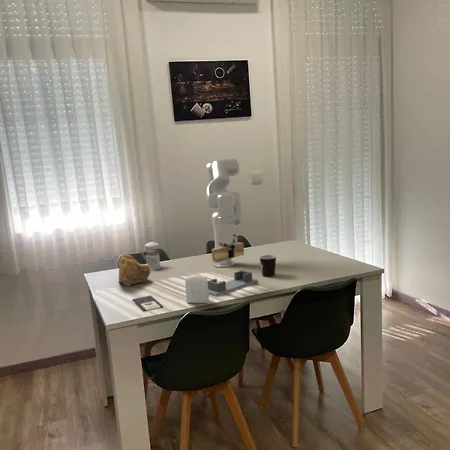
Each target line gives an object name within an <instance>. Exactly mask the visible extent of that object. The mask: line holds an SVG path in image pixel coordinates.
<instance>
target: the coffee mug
mask: <svg viewBox="0 0 450 450" xmlns="http://www.w3.org/2000/svg"><path fill="white" fill-rule="evenodd" d="M259 260H260V261H259V263H260V267H261V268H260V270H261V273H262V277H263V278H264V277H265V278H273V277H275V276H276V264H277V263H276V261H277V256H276V255H273V254H264V255H260V256H259Z"/></svg>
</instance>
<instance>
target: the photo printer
mask: <svg viewBox="0 0 450 450" xmlns="http://www.w3.org/2000/svg"><path fill="white" fill-rule="evenodd" d="M208 281H209V280H208V277H206V276H204V275H196V274H194V275H189V276H187V277H186V278H185V281H184V282H185V283H184V284H185V295H186V296H185V297H186V299H185V300H186V303H187V304H208V303H209V301H210V298H209V294H208Z"/></svg>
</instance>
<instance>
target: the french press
mask: <svg viewBox="0 0 450 450" xmlns="http://www.w3.org/2000/svg"><path fill="white" fill-rule="evenodd" d="M152 228H153V227H152V226H151V225H149V226H148V229H149V230H150V231H149V232H150V234H152V233H151V229H152ZM158 246H159V243H158V242H154V241H152V239H150V242H147V243H146V244H144V247H143V248H142V249H141V251H142V254H141V256H142V258H143V259H144V260H146V265H147V266H148V267H149V268H150V271H151V270H158V269H161V268H162V267H163V266H162V265H161V261H160V260H161V259H160V253H159V250H158V249H151V250H147V248H153V247H154V248H155V247H158ZM145 250H147V251H146V254H145V253H144V251H145Z"/></svg>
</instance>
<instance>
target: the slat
mask: <svg viewBox="0 0 450 450" xmlns="http://www.w3.org/2000/svg"><path fill="white" fill-rule="evenodd" d="M237 242H238V245H237V246H236V247H235V249H234V257H233V258H232V259H234V258H237V257H241V256H244V255H245V249H244V248H245V247H244V242H240V241H237ZM231 246H232V245H231ZM228 250H229V246H228V245H226V246H222V247H218V248H215V247H214V248H212V249H211V257H212V263H214V262H220V261H224V260H227V259H231V258H229V255H228Z"/></svg>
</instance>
